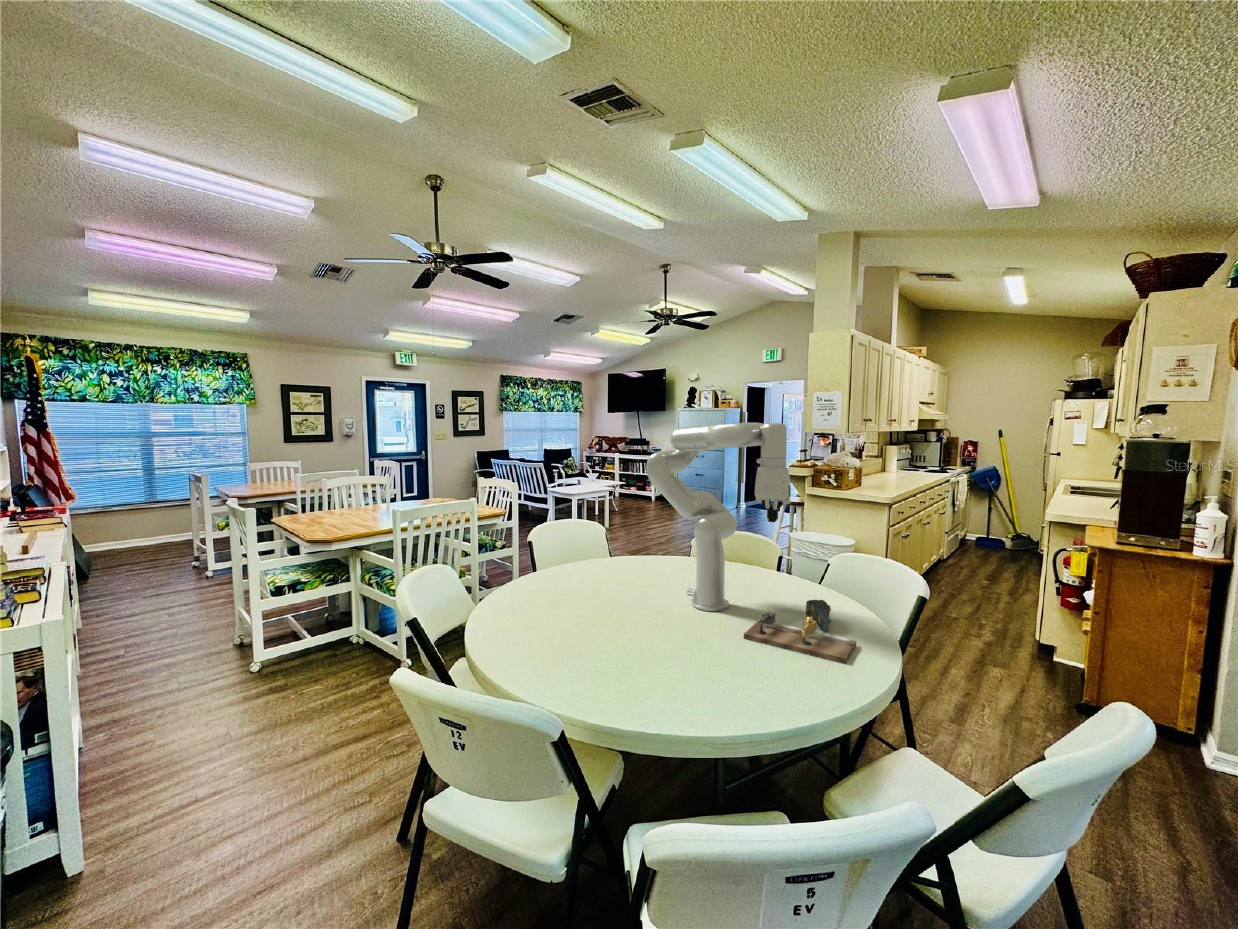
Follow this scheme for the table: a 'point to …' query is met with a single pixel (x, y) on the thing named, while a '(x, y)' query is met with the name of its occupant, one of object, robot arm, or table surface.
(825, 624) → the sculpture
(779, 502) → the robot arm
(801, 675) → the table surface
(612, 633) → the table surface
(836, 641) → the plate
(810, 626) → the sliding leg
